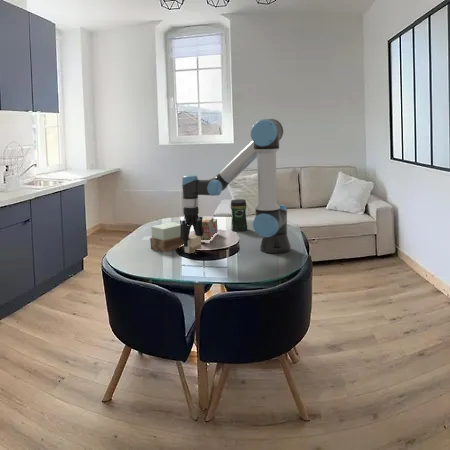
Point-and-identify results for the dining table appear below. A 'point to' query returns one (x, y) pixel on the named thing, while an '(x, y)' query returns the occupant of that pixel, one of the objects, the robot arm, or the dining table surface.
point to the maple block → (194, 243)
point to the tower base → (166, 244)
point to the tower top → (166, 231)
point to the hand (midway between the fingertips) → (192, 251)
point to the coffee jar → (238, 215)
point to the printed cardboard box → (209, 227)
